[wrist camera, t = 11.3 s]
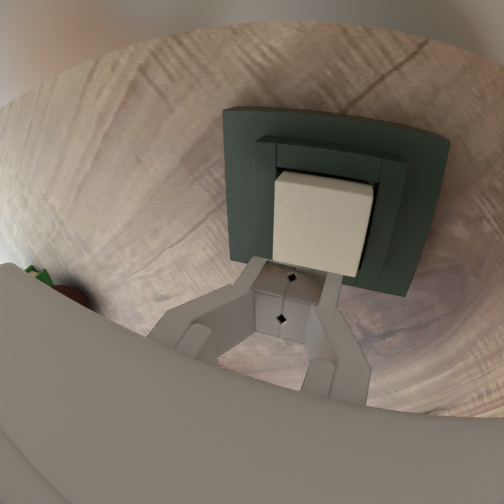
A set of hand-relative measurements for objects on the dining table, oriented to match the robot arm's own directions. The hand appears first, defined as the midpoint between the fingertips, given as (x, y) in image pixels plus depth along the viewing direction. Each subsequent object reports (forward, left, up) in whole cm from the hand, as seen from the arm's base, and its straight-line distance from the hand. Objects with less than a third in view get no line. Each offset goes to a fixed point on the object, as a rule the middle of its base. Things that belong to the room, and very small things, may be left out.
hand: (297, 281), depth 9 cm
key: (+1, 0, -6) cm, 6 cm away
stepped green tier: (+1, 0, -9) cm, 9 cm away
